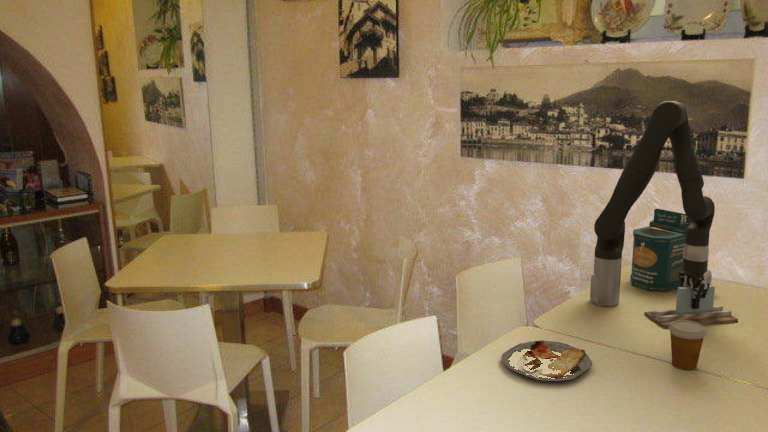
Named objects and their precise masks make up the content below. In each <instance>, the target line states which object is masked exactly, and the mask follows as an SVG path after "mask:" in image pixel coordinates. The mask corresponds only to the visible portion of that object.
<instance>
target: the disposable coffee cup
mask: <svg viewBox="0 0 768 432" xmlns="http://www.w3.org/2000/svg"><path fill="white" fill-rule="evenodd" d="M668 330H669V333H670V346H671V348H670V349H671V364H672V366H673V367H675V368H676V369H679V370H684V371H694V370H696V369H697V367H698V362H699V358H700V354H701V350H702V346H703V341H704V338H705V337H706V335H707V331H706V328H705V325H701V324H699V323H697V322H694V321H688V320H676V321H673V322H672V323H671V325H670V326H669V328H668Z"/></svg>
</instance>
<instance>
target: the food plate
mask: <svg viewBox="0 0 768 432" xmlns="http://www.w3.org/2000/svg"><path fill="white" fill-rule="evenodd" d="M523 349H530V350H531V351H527V352H526V353H525V355H526V356H528V357H533V358H536V359H535V360H532V361H530V362H529V363H527V364H526V363H523V364H522V367H523V366H524V365H525V366H527V365H534V366H533V367H532V368H531V369H530V368H529V369H530V370H532V369H533V370H534V369H536V368H538V367H540V365H541V364H543V363H541V361H540V360H539V359H538V358H541V359H551V358H557V359H556V360H554V362H552V363H551V364H549V365H548V368H549V369H552V370H553V371H554V370H555V369H556V371H557V370H561V373H558V375H557V374H552V373H550V374H543V373H540V372H538V374H539V375H543V376H547V377H551V378H555V379H551V378H549V379H548V378H542V377H539V378H538V377H537V376H538V375H535V376H536V377H537V378H536V377H534V376H532V375H533V374H532V375H526V373H525V372H526V371H524V370H522V369H521V370H522V371H521V370H519V369H518V370H516V369H514V368H515V367H514V366H513V367H512V366H510V364H509V362H510V360H508V359H509V358H510V357H511V356H512V354H513V353H514V352H516V351H518V352H521V350H523ZM552 351H554V352H559V353H561V356H558V355H556V354H554V353H553V352H552ZM525 355H524V356H525ZM500 359H501V361H502V363H503V364H505V365H506V367H507V368H508V369H510V370H512V371H513V372H515V373H517V374H520V375H523V376H525V377H528V378H531V379H534V380H538V381H550V382H551V381H552V382H555V381H556V382H557V381H558V382H559V381H568V380H574V379H576V378H577V377H578V376H580V375H582V374H584V373H585V372H586V371H588V370H589V369H590V368H592V366H593V362H592V360H591V359H590V356H589V355H588V354H587V353H586V350H585V349H579V348H576V347H575V346H572V345H570V344H567V343H564V342H559V341H551V340H543V339H541V340H534V341H533V340H532V341H530V340H529V341H527V342H520V343H518V344H517V345H515V346H513V347H510V348H509V349H508V350H506V351H504V352H503V353H502V355H501V358H500ZM527 367H528V366H527ZM552 367H554V368H552ZM523 371H524V372H523ZM569 371H571V372H570V374H572V375H566V376H564V375H565V374H566V373H567V372H569ZM573 374H574V375H573ZM563 377H565V378H563ZM566 377H567V378H566Z"/></svg>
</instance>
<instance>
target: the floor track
mask: <svg viewBox="0 0 768 432" xmlns="http://www.w3.org/2000/svg"><path fill="white" fill-rule="evenodd" d="M732 312H733V311H732V310H731V309H729V310H728V309H727V310H724V306H722V305H713V312H703V313H691V314H679V315H676V308H675V309H665V310H651V311H644V314H643V315H644V316H645V317H647V318H648V319H650V321H653V322H654V323H655V324H657V325H659V326H660V327H661V328H663V329H669V326H670V325H671V323H672V322H673V321H676V320H688V321H694V322H697V323H699V324H701V325H703V326H707V325H709V324H711V325H717V324H718V325H720V324H721V325H722V324H730V323H731V324H732V323H738V322H739V320H738V318H736V317H735V316H733V315H732V314H733V313H732ZM709 326H710V325H709Z"/></svg>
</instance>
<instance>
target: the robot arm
mask: <svg viewBox="0 0 768 432" xmlns="http://www.w3.org/2000/svg"><path fill="white" fill-rule="evenodd" d="M689 125H690V124H689V117H688V110H687V107H686V106H685V105H684V104H683V103H681V102H679V101H676V100H667V101H662V102H661V103H659V104H657V105H656V106H655V108H654V110H653V111H652V114H651V116H650V119H649V120H648V123H647V126H646V129H645V131H644V133H643V135H642V136H641V137H642V138H641V139H640V140H639V142H638V144H637V145H636V147H635V149H634V150H633V152H632V154H631V156H630V157H629V159H628V160H627V162H626V165H625V167H624V168H623V170H622V172H621V174H620V176H619V178H618V181H617V182H616V185H615V187H614V189H613V191H612V194H611V197H610V199H609V200H608V203H606V206H605V207H604V209H603V210H602V211H601V213H600V214H599V216H598V217H597V218H596V220H595V221H594V224H593V226H594V228H593V229H594V233H595V235H596V237H597V238H596V245H595V247H594V258H593V274H591V277H590V294H589V300H590V301H591V302H592V303H594V304H595V305H596V306H602V307H603V306H604V307H613V306H614V307H615V306H618V305H619V304H620V298H621V297H620V293H621V275H622V259H623V250H624V245H625V236H626V235H625V233H626V222H625V220H626V218H627V216H628V214H629V212H630V210H631V209H632V207H633V206H634V205H635V203H636V202H637V201H638V200H639V198H640V197H641V195H642V194H643V193H644V191H646V189H647V187H648V185H649V183H650V182H651V180H652V178H653V177H654V174H655V173H656V170H657V167H658V165H659V162H660V158H661V155H662V151H663V148H664V146H665V145H666V143H667V141H668V140H669V141H670V144H671V149H672V156H673V158H672V159H673V165H674V171H675V175H676V177H677V181H678V183H679V186H680V190H681V192H680V193H681V202H682V208H683V212H684V214H686V215H687V216H688V217H689V218H690V219H691V222H690V225H689V226H688V227H687V229H686V235H685V245H684V250H683V261H682V270H683V271H684V272H679V281H680V287H690V286H691V291H692V294H693V298H692V309H698V308H699V304H700V298H705V297H706V294H707V291H708V289H709V286H710V284H709V283H705V282H704V273H706V272H707V269H708V266H709V257H710V255H709V253H710V250H709V249H710V248H709V245H710V244H709V243H710V231H711V229H712V225H713V221H714V217H715V213H716V212H715V211H716V207H715V203H714V200H712V199H711V197H709V196H706V195H704V192H703V187H704V185H705V182H704V178H703V175H702V171H701V168H700V165H699V162H698V159H697V156H696V152H695V149H694V146H693V142H692V137H691V132H690V126H689ZM683 282H684V285H683ZM694 288H698V289H694ZM697 291H698V292H697ZM696 292H697V295H696Z"/></svg>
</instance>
